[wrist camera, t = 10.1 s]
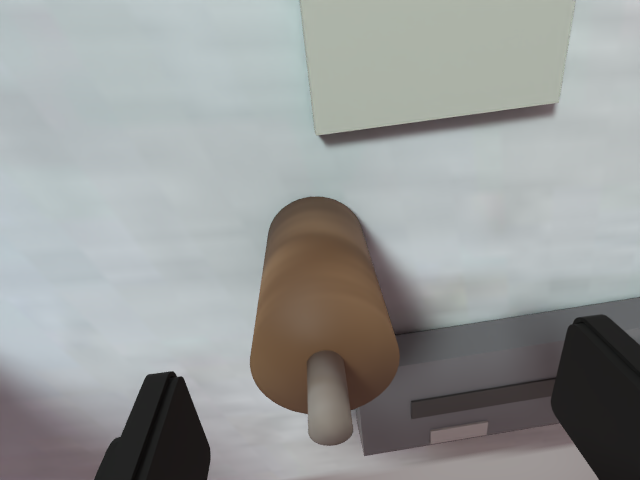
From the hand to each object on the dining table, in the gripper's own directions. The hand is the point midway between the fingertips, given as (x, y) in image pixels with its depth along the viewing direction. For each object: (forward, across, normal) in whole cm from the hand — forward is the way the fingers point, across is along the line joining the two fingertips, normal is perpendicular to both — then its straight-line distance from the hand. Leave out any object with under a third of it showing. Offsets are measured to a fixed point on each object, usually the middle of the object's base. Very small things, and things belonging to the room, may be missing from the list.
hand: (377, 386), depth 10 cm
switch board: (+8, -9, +9) cm, 15 cm away
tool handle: (+8, +1, 0) cm, 8 cm away
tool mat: (+8, -4, -8) cm, 12 cm away
